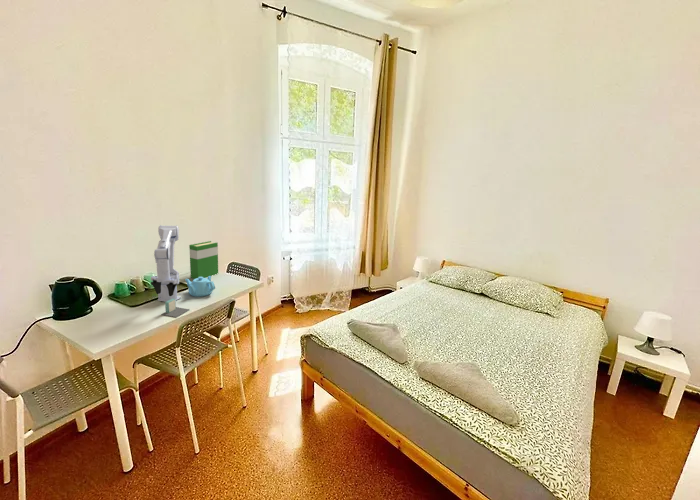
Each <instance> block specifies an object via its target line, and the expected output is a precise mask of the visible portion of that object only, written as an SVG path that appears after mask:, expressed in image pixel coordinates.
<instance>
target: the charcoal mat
mask: <svg viewBox="0 0 700 500" xmlns="http://www.w3.org/2000/svg"><path fill="white" fill-rule="evenodd" d="M189 311H190V308H183V307H178V306H176V310H174V311H172V312H170V313H166V311H165V312H163V313H160V314H161V316H165V317H172V318H178V317H180V316H182V315H183V314H185V313H187V312H189Z"/></svg>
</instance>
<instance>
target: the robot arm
mask: <svg viewBox="0 0 700 500" xmlns="http://www.w3.org/2000/svg"><path fill="white" fill-rule="evenodd" d="M179 235H180V229H179V226H178V225H161V224H159V226H158V236H159V238H160V240H159V241H158V243H157V247H156V249H154V253H153V254H154V255H153V257H154V260H155V264H156V275H157V276H155V275H152V276H150V281H151V282H150V284H151V286H152V287H153V289H154V290H155V291H154V292H155V293H156V294H157V296H158V299H157V301H159V302H164V303H165V302H166V301H168V300H170V299H175V302H176V301H177V300H180V299H181V296H178V285H179V284H180V272H179V271H178V270H176V269H175V267H174V266H175V244H176V242H177V241H178V240H179V237H180V236H179Z"/></svg>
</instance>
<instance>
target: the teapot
mask: <svg viewBox="0 0 700 500" xmlns="http://www.w3.org/2000/svg"><path fill="white" fill-rule="evenodd" d="M184 280H185V283H186V285H187V288H188V293H189V295H191V296H192V297H196V298H199V297H200V298H201V297H207V296H209V295H210V294H212V292H213V291H214V290H215V289H216V286H215V282H214V280H212V276H208V277H206V278H203V277H198V278H196V279H192V281H191V280H190V279H189V278H185V279H184ZM211 280H212V281H211Z"/></svg>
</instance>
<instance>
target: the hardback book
mask: <svg viewBox="0 0 700 500" xmlns="http://www.w3.org/2000/svg"><path fill="white" fill-rule="evenodd" d="M188 246H189V247H188V248H189V249H188V250H189V269H190V279H192V280H194V279H196V278H198V277H203V278H208V276H211V277H212V275H213V276H216V275H218V274H219V250H218V249H219V247H218V246H219V245H218V242H212V241H211V240H208V241H205V242H204V241H203V242H198V243H194V244H189V245H188ZM217 273H218V274H217ZM215 274H216V275H215Z"/></svg>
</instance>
